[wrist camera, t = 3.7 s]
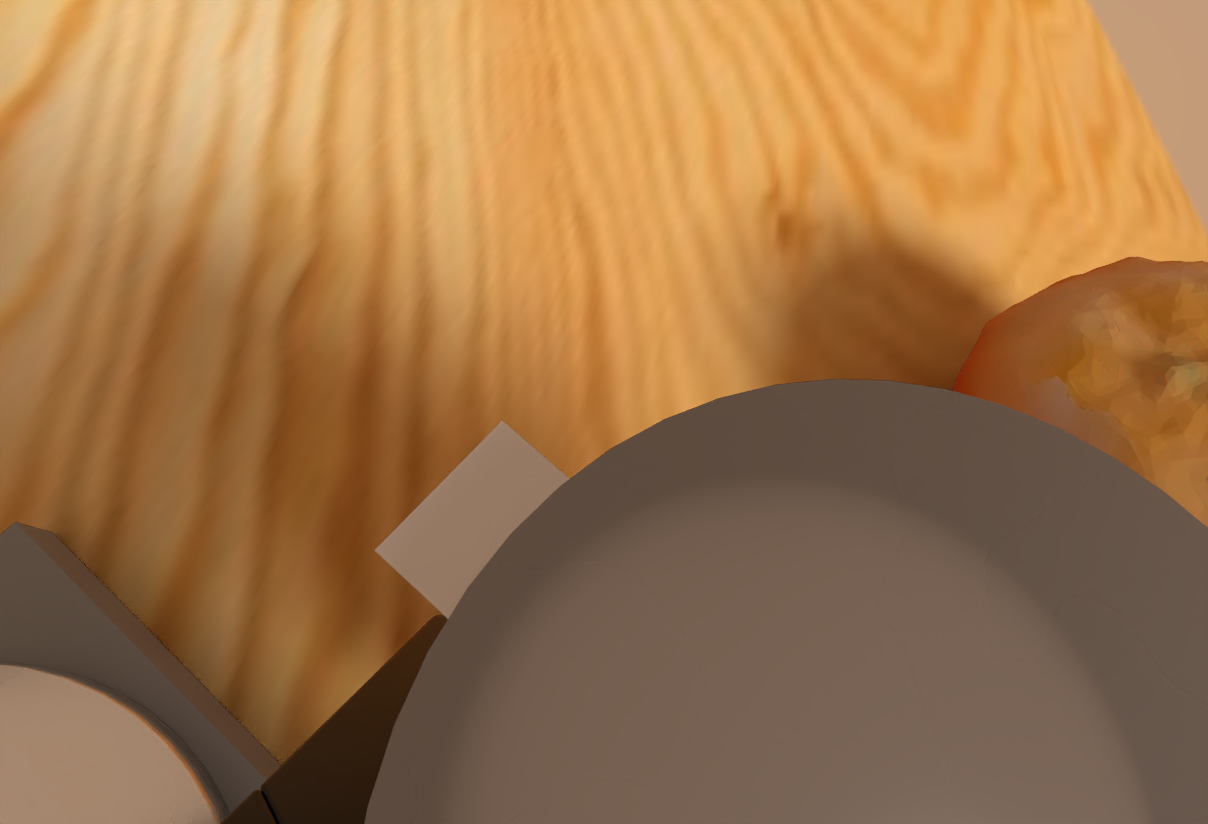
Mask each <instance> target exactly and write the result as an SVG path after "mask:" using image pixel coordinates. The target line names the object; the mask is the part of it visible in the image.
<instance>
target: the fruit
mask: <svg viewBox="0 0 1208 824" xmlns="http://www.w3.org/2000/svg"><path fill="white" fill-rule="evenodd" d="M952 391H955V392H958V393H962V394H965V395H969V396H973V397H976V398H980V399H984V400H987V401H991V402H994V403H998V404H1002V405H1004V406H1007V407H1009V408H1012V409H1014V410H1017V411H1019V412H1022V413H1024V414H1027V415H1029V416H1032V417H1034V418H1036V419H1039V420H1041V421H1044V422H1046V423H1049V424H1051V425H1054V426H1056V427H1058V428H1060V429H1062V430H1064V431H1066V432H1068V433H1070V434H1072V435H1073V436H1075V437H1077V438H1079V439H1081V440H1083V441H1085V442H1086V443H1088V444H1090V445H1092V446H1094V447H1096V448H1098V449H1100V450H1101V451H1103V452H1105V453H1107V454H1109V455H1111V456H1112V457H1114V458H1115V459H1117V460H1118V461H1120V462H1121V463H1123V464H1124V465H1126V466H1127V467H1129V468H1130V469H1132V470H1133V471H1135V472H1136V473H1138V474H1139V475H1140V476H1142V477H1143V478H1145V479H1146V480H1148V481H1149V482H1151V483H1152V484H1154V485H1155V486H1157V487H1158V488H1160V489H1161V490H1163V491H1164V492H1165V493H1167V494H1168V495H1169V496H1170V497H1171V498H1173V499H1174V500H1175V501H1176V502H1177V503H1179V504H1180V505H1181V506H1182V507H1183V508H1185V509H1186V510H1187V511H1188V512H1189V513H1191V514H1192V515H1193V516H1194V517H1195V518H1197V519H1198V520H1199V521H1200V522H1201V523H1203V524H1204V525H1205V526H1206V527H1207V528H1208V263H1207V262H1204V261H1198V262H1182V261H1164V262H1157V261H1153V260H1149V259H1145V258H1141V257H1128V258H1125V259H1122V260H1120V261H1117V262H1114V263H1112V264H1109V265H1106V266H1102V267H1099V268H1096V269H1093V270H1091V271H1089V272H1087V273H1084V274H1080V275H1075V276H1071V277H1068V278H1066V279H1063V280H1061V281H1058V282H1056V283H1054V284H1052V285H1050V286H1049V287H1047V288H1046V289H1043V290H1042V291H1040V292H1038V293H1036V294H1034V295H1033V296H1031V297H1029V298H1027V299H1026V300H1024V301H1022V302H1020V303H1018V304H1015V305H1013V306H1012V307H1010V308H1008V309H1007V310H1005V311H1004V312H1002V313H1001V314H999V315H998V316H996V317H995V318H993V319H992V320H990V321H989V322H988V323H987V324H986V325H985V327H984V328H983V330H982V333H981V335H980V337H979V340H978V341H977V343H976V345H975V346H974V348H973V350H972V351H971V353H970V355H969V357H968V358H967V360H966V362H965V363H964V365H963V367H962V368H961V370H960V372H959V374H958V376H957V378H956V381H955V384H954V387H953V390H952Z"/></svg>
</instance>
